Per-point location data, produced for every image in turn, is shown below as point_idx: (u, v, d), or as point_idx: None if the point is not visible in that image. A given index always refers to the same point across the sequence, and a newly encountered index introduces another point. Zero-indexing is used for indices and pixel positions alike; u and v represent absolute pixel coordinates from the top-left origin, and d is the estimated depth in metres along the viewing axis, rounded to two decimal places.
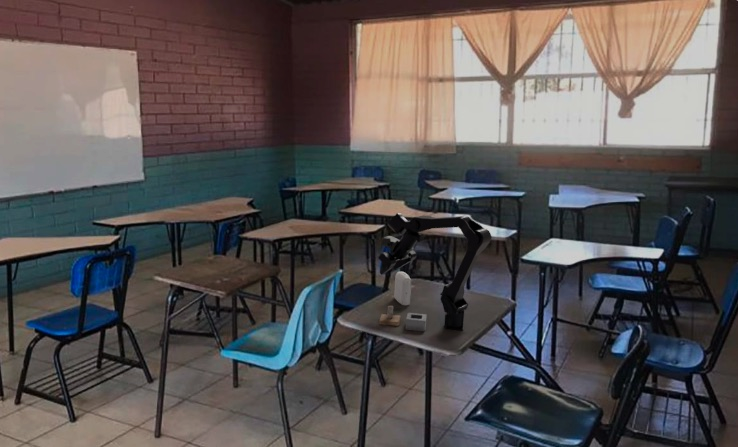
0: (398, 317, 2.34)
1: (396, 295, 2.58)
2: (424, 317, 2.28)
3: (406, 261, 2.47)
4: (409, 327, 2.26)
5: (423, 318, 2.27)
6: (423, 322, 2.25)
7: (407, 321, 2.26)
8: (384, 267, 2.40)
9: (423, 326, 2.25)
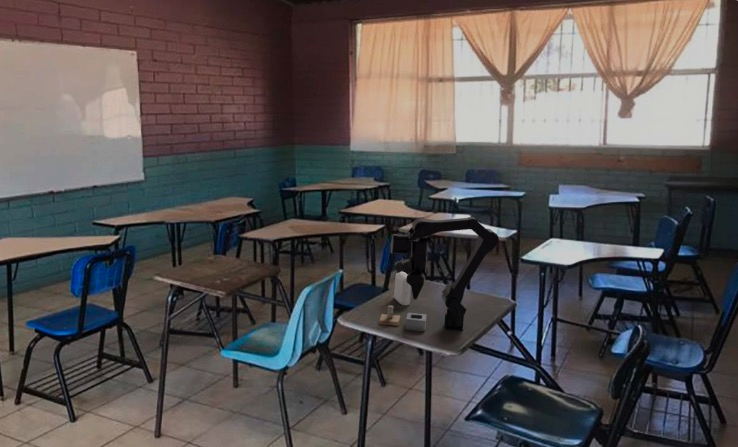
0: (398, 317, 2.34)
1: (396, 295, 2.58)
2: (424, 317, 2.28)
3: (424, 275, 2.31)
4: (409, 327, 2.26)
5: (423, 318, 2.27)
6: (423, 322, 2.25)
7: (407, 321, 2.26)
8: (416, 289, 2.21)
9: (423, 326, 2.25)
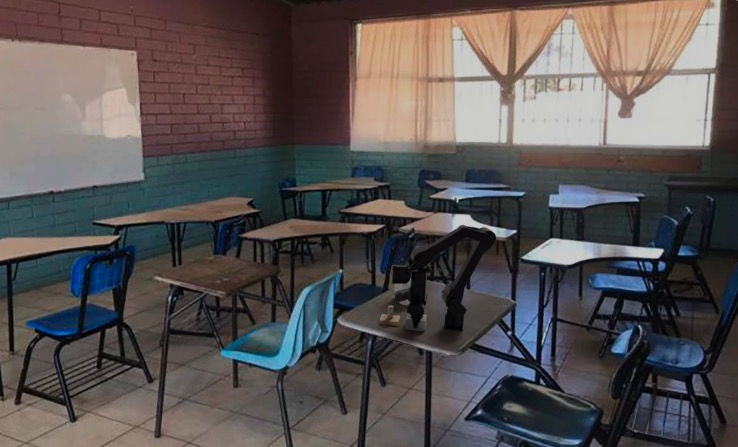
0: (398, 317, 2.34)
1: None
2: (424, 317, 2.28)
3: (423, 304, 2.32)
4: (409, 327, 2.26)
5: (423, 318, 2.27)
6: (423, 322, 2.25)
7: (407, 321, 2.26)
8: (416, 318, 2.24)
9: (423, 326, 2.25)
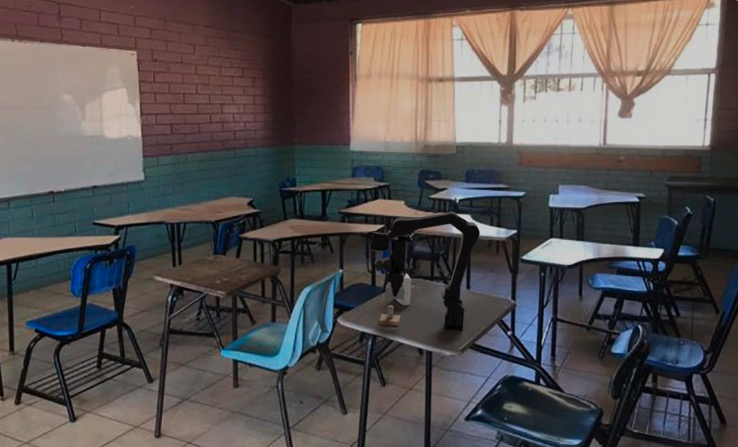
0: (398, 317, 2.34)
1: None
2: (404, 286, 2.29)
3: (403, 274, 2.33)
4: (388, 295, 2.27)
5: (403, 287, 2.28)
6: (402, 291, 2.26)
7: (387, 289, 2.27)
8: (395, 286, 2.25)
9: (402, 295, 2.26)
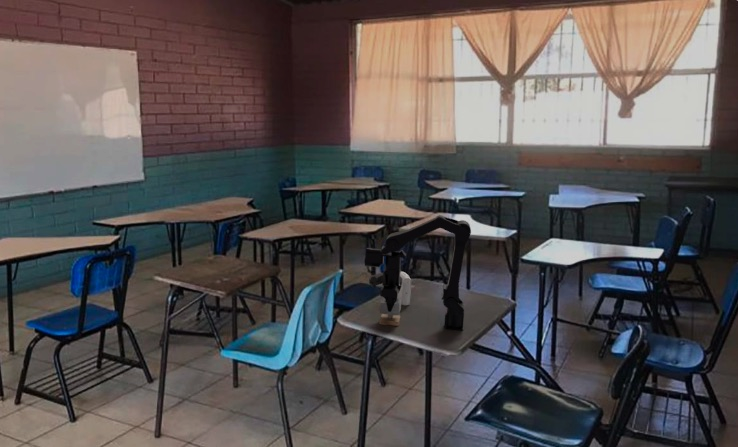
0: (398, 317, 2.34)
1: None
2: (398, 301, 2.32)
3: (398, 289, 2.35)
4: (383, 310, 2.30)
5: (397, 302, 2.30)
6: (397, 306, 2.28)
7: (381, 305, 2.29)
8: (390, 302, 2.27)
9: (397, 309, 2.29)
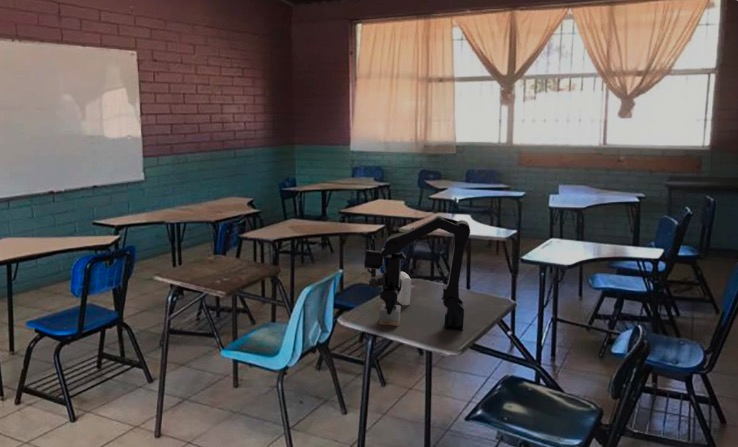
0: None
1: None
2: (398, 308, 2.32)
3: (398, 290, 2.36)
4: (383, 318, 2.30)
5: (397, 309, 2.31)
6: (397, 313, 2.29)
7: (381, 312, 2.30)
8: (389, 304, 2.26)
9: (397, 317, 2.29)
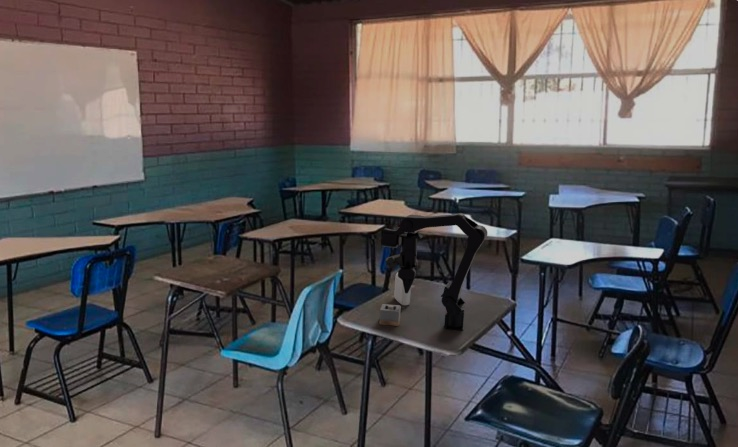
0: None
1: (396, 295, 2.58)
2: (398, 308, 2.32)
3: (414, 269, 2.38)
4: (383, 318, 2.30)
5: (397, 309, 2.31)
6: (397, 313, 2.29)
7: (381, 312, 2.30)
8: (407, 283, 2.28)
9: (397, 317, 2.29)
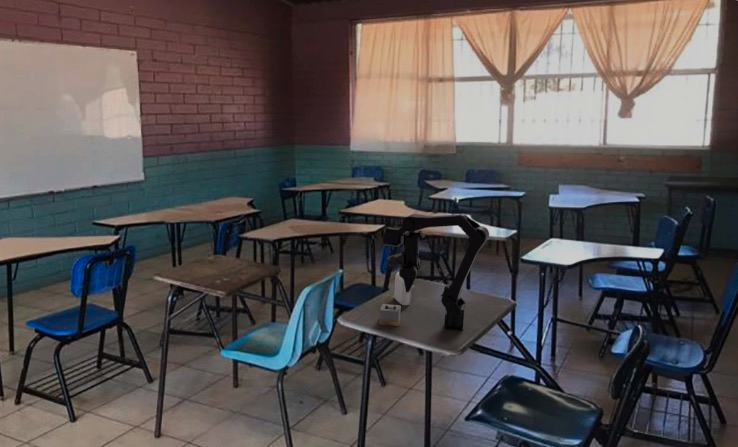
0: None
1: (396, 295, 2.58)
2: (398, 308, 2.32)
3: (416, 269, 2.39)
4: (383, 318, 2.30)
5: (397, 309, 2.31)
6: (397, 313, 2.29)
7: (381, 312, 2.30)
8: (408, 282, 2.29)
9: (397, 317, 2.29)
